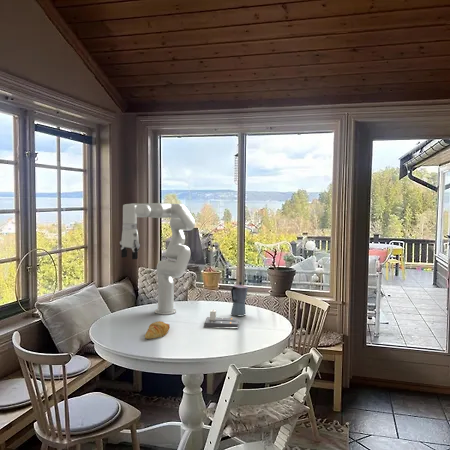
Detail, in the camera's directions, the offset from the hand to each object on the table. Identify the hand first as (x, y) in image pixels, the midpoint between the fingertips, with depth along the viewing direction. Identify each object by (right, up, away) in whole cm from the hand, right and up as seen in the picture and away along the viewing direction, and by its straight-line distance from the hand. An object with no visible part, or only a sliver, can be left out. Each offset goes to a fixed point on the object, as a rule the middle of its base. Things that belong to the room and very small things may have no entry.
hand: (129, 258), depth 250 cm
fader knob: (+45, -37, +3) cm, 58 cm away
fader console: (+50, -37, +3) cm, 63 cm away
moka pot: (+60, -36, +25) cm, 75 cm away
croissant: (+18, -38, -18) cm, 45 cm away
